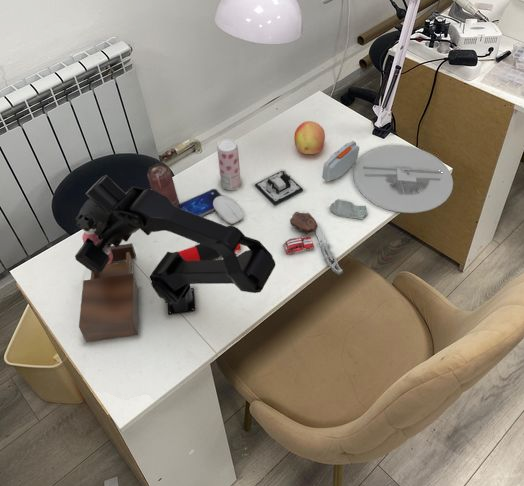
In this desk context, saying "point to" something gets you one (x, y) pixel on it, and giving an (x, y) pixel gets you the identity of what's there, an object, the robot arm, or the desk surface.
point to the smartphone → (201, 203)
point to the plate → (403, 179)
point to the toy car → (298, 245)
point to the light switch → (278, 187)
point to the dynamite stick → (201, 253)
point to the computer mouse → (228, 209)
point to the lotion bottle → (93, 237)
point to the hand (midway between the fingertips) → (92, 244)
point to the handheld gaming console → (340, 161)
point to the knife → (327, 251)
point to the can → (163, 182)
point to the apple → (309, 137)
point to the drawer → (119, 268)
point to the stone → (303, 222)
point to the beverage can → (229, 164)
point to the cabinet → (109, 308)
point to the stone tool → (348, 209)
